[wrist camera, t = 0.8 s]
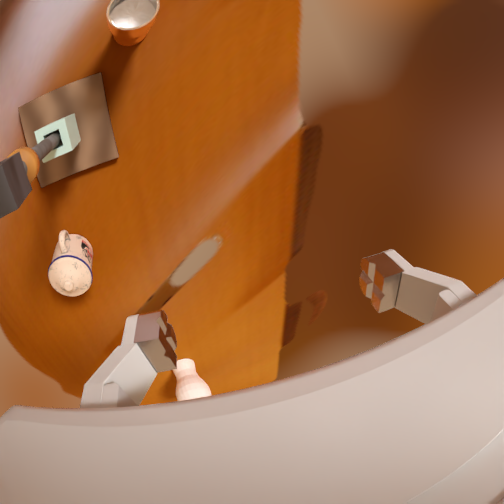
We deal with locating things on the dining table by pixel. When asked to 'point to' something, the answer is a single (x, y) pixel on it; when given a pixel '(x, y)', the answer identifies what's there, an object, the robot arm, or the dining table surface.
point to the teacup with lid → (71, 265)
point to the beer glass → (131, 19)
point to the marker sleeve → (67, 134)
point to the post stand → (58, 140)
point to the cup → (189, 381)
